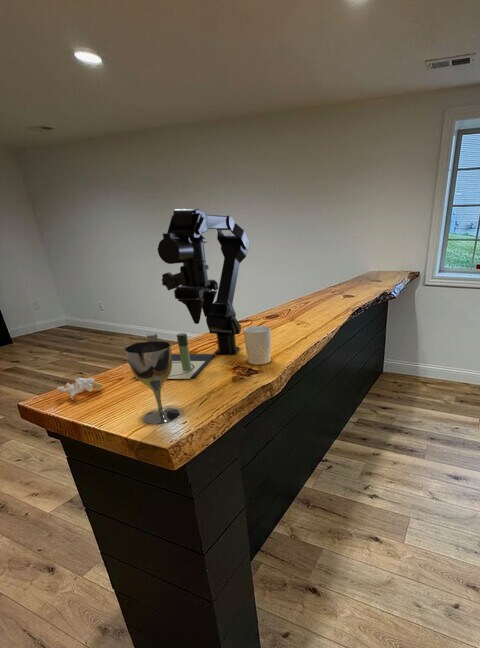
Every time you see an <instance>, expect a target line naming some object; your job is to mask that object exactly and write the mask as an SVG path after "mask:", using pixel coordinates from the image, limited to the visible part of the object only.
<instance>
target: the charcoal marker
mask: <svg viewBox="0 0 480 648" xmlns="http://www.w3.org/2000/svg"><path fill="white" fill-rule="evenodd" d="M146 338H147V342H151V341H159V337H158V333H156V332H152V333H146Z"/></svg>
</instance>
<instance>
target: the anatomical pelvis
mask: <svg viewBox="0 0 480 648" xmlns="http://www.w3.org/2000/svg"><path fill="white" fill-rule="evenodd" d="M74 382H75V384H74V383H72V384H70V383H69V382H67V383H66V384H65V386H66V387H67V388H65V387H64V386H63V385H62V386H59V387H56V390H57V392H59V393H67V394H69V398H70V399H71V400H72V401H74V400H75V399H74V397H75V396H76V395H77V394H81V393H83V392H84V391H87V392H90V393H91V392H93V391H94V389H96V390H97V391H98V392H99V391H100V390H101V389H103V387H104V385H103V383H100V382H96V381H95V379H94V378H92V377H89V378H85V377H82V378H81V377H78V378H76V379H75V381H74ZM63 388H64V389H63Z"/></svg>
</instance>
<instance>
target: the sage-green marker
mask: <svg viewBox="0 0 480 648" xmlns="http://www.w3.org/2000/svg"><path fill="white" fill-rule="evenodd" d="M176 338H177V345H178V351H179V354H180V357H181V363H182V369H183V370H185V371H186V370H191V369H192V368H191V361H190V354H191V353H190V350H189V341H188V340H189V339H188V335H187V333H185V332H181V333H177V334H176Z"/></svg>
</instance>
